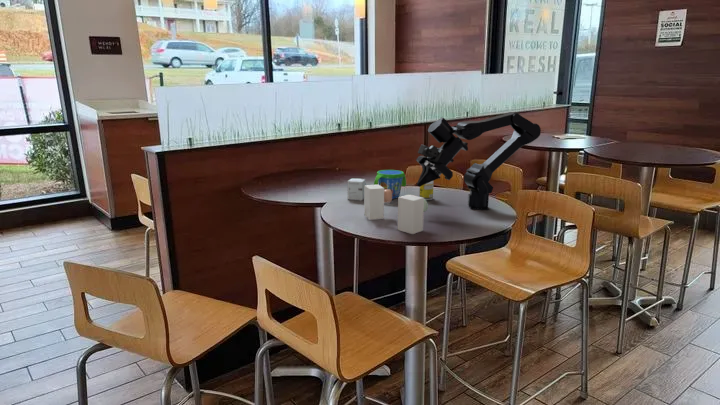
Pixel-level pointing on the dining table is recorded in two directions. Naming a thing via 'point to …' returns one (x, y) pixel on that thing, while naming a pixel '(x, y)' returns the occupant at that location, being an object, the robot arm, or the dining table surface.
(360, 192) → the skincare box
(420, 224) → the sage button housing
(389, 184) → the snack cup
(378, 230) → the dining table surface
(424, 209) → the sage button
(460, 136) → the robot arm
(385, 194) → the terracotta button
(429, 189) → the supplement bottle
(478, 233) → the dining table surface
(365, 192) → the white tall block
